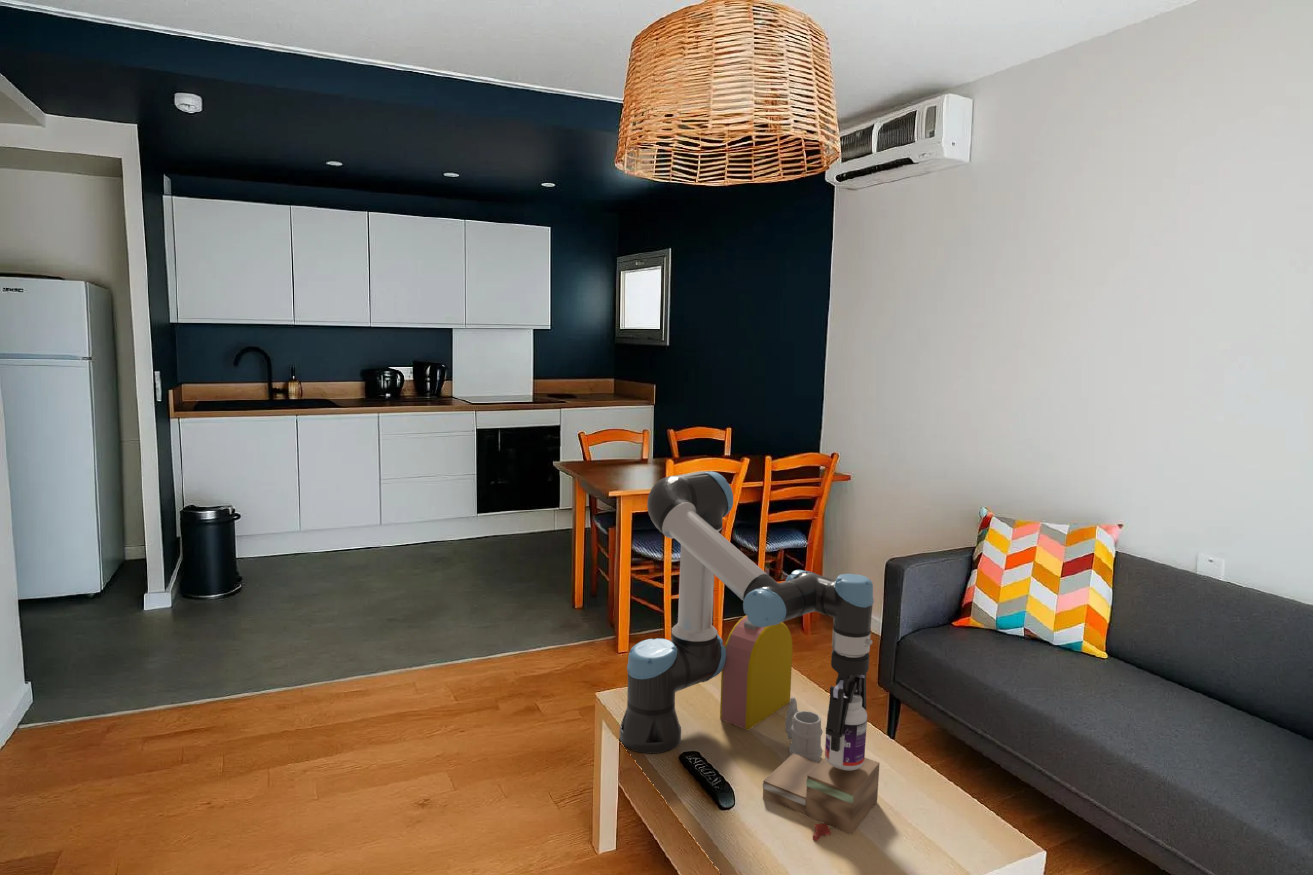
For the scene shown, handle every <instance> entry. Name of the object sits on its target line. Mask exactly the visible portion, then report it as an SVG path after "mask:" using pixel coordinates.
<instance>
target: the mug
mask: <svg viewBox="0 0 1313 875" xmlns="http://www.w3.org/2000/svg"><path fill="white" fill-rule="evenodd" d="M797 704H798V703H797V699H796V698H795V696H792V697H790V702H789V706H788V710H787V712H786V716H785V720H784V721H785V723H784V724H785V733H786V736H787V739H788V740H791V742H790V744H789V747H788V749H789V750H788V751H789V753H790V754H789V755H790V756H791V755H792V754H793V753H794V754H797V755H799V756H802V757H805V758H808V759H810V760H813V761H816V762H818V763H820V762H821V758H822V755H823V747H822V744H821V743H822V735H823V732H824V731H823V729H822V718H821V716H820V715H819V714H818V713H815V712H813V711H810V710H799V709H798V705H797Z"/></svg>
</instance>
